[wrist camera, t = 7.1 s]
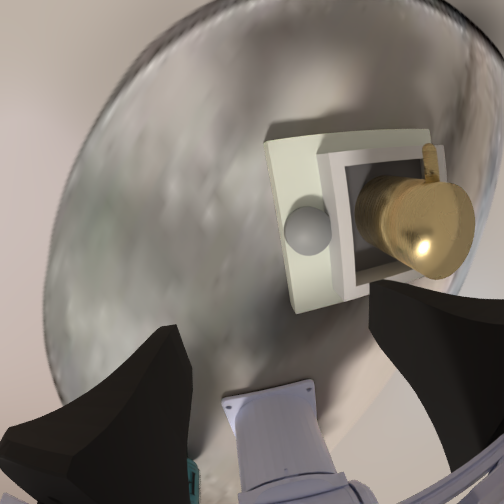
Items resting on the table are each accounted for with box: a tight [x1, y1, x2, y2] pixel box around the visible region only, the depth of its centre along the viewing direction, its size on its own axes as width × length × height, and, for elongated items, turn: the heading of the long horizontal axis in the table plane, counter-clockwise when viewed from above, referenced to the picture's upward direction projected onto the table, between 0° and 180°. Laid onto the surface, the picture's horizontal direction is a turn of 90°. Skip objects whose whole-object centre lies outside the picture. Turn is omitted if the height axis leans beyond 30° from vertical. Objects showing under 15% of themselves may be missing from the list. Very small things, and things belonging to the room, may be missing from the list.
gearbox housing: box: [263, 129, 447, 314], centre depth 17 cm, size 11×12×4 cm
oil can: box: [355, 143, 475, 280], centre depth 14 cm, size 7×5×6 cm
